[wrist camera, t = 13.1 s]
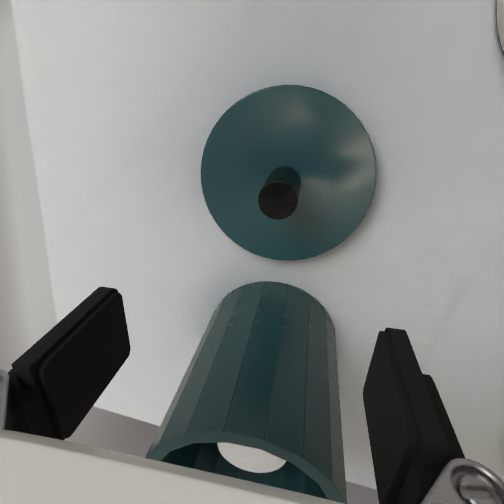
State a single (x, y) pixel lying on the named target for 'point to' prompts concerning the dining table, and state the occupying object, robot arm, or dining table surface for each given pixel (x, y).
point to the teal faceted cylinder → (262, 393)
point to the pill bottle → (250, 458)
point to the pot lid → (288, 172)
